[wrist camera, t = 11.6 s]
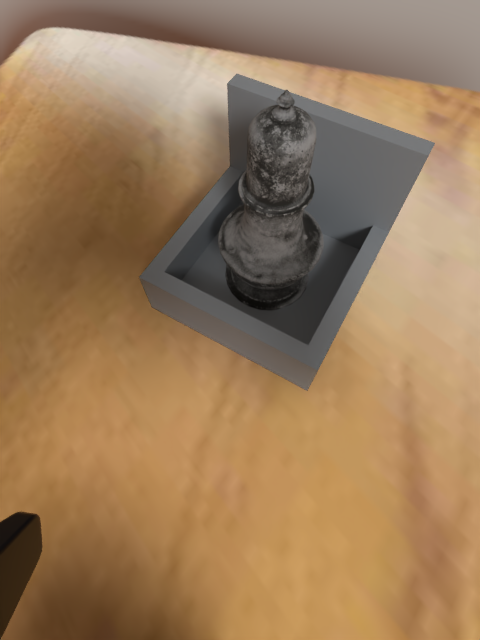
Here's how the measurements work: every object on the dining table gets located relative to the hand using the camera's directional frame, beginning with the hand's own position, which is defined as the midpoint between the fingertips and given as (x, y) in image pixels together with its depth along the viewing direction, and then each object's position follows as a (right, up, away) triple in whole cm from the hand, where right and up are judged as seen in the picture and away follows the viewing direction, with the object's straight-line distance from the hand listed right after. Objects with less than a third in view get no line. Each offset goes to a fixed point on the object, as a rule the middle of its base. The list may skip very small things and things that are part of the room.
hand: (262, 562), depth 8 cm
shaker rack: (+1, +7, +18) cm, 20 cm away
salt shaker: (+1, +8, +18) cm, 19 cm away
